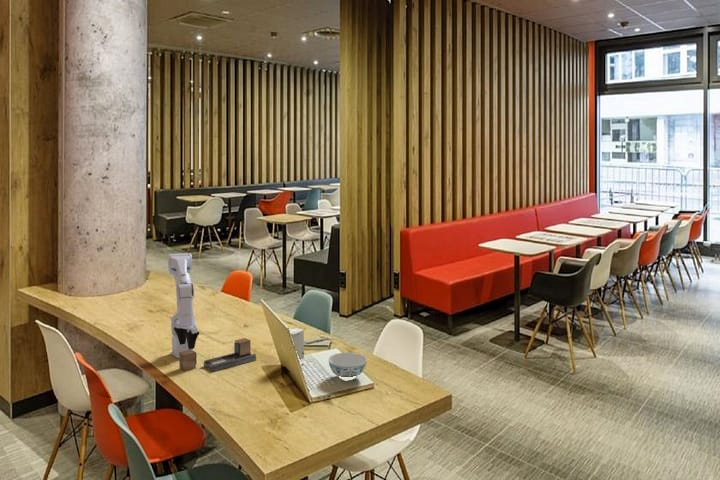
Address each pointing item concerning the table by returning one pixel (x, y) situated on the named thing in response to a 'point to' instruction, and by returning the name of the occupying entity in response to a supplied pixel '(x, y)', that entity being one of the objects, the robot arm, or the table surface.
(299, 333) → the skincare box
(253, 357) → the rail
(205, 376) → the table surface
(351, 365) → the chinaware
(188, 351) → the walnut finger
